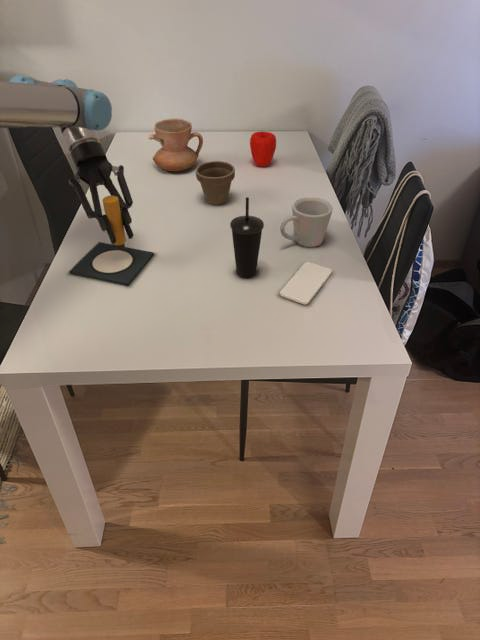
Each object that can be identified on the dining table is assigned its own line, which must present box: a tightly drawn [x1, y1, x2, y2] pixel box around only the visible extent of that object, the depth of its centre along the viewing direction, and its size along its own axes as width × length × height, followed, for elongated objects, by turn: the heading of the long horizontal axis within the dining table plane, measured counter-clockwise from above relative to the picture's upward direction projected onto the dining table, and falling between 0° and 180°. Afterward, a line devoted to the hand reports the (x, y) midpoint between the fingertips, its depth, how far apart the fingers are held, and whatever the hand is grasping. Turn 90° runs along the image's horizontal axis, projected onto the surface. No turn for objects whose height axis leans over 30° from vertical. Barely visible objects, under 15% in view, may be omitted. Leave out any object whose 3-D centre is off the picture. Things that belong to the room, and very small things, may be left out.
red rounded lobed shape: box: [249, 131, 277, 168], centre depth 162 cm, size 9×9×11 cm
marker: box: [102, 195, 127, 250], centre depth 114 cm, size 4×4×13 cm
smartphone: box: [279, 261, 333, 306], centre depth 113 cm, size 7×1×15 cm
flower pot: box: [194, 160, 236, 206], centre depth 142 cm, size 12×11×10 cm
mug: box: [279, 196, 334, 248], centre depth 124 cm, size 10×15×10 cm
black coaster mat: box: [69, 241, 155, 287], centre depth 120 cm, size 16×14×1 cm
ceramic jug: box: [147, 118, 204, 172], centre depth 159 cm, size 18×14×14 cm
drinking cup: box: [229, 197, 265, 279], centre depth 111 cm, size 8×8×20 cm
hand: (122, 239), depth 113 cm, fingers closed on marker, 4 cm apart
